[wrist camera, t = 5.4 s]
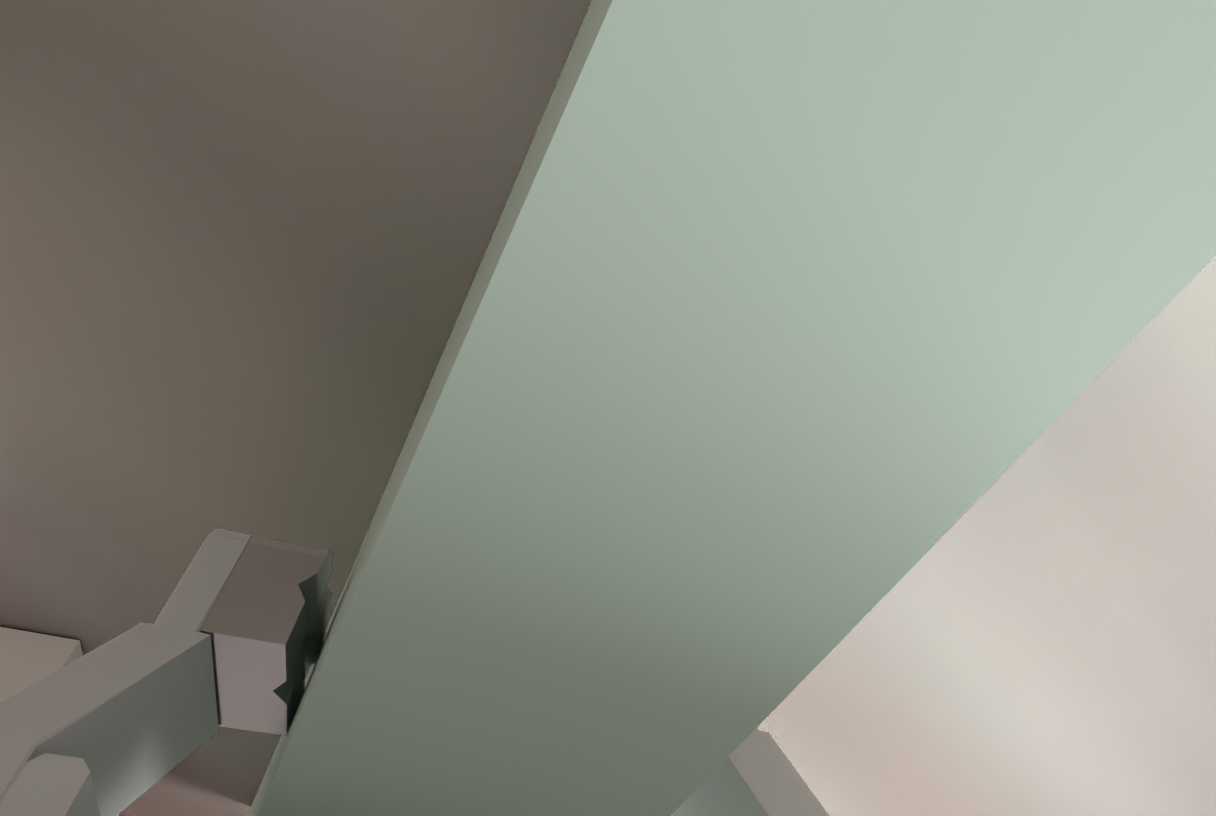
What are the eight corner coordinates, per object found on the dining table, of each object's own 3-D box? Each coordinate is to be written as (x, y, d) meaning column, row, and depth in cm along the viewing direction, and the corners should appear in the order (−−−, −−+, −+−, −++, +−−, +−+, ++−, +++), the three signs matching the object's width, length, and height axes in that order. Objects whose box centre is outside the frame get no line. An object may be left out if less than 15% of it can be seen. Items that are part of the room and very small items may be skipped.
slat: (754, -384, 8) (876, -607, 3) (1083, -175, 8) (1566, -107, 4) (251, 805, 19) (123, 1122, 15) (407, 850, 20) (330, 1165, 15)
